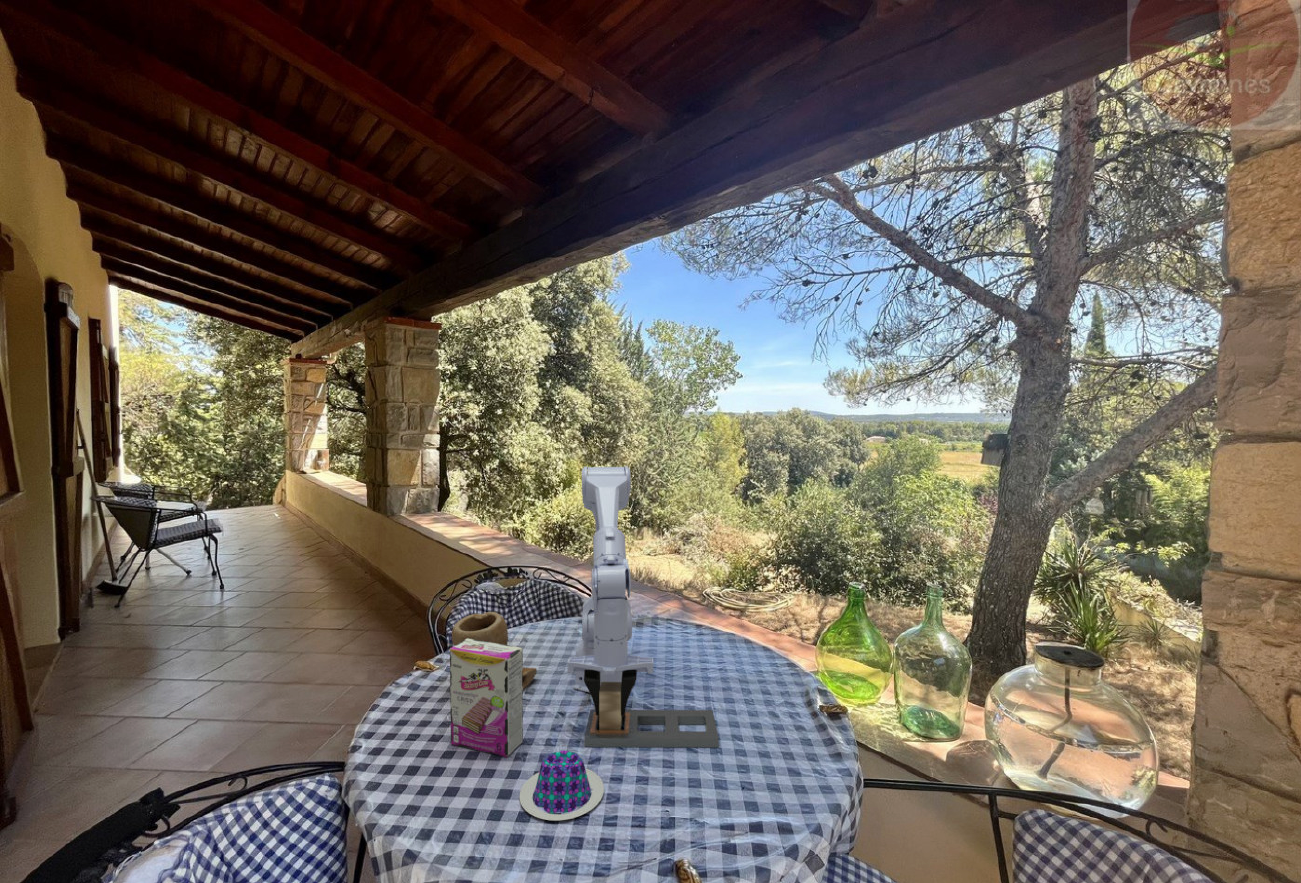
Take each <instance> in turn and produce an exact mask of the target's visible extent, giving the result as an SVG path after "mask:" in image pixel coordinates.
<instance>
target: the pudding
mask: <svg viewBox="0 0 1301 883" xmlns="http://www.w3.org/2000/svg"><path fill="white" fill-rule="evenodd" d="M584 763H585V762H584V761H583V759H582V757H580V755H579V754H578V753H577V752H575V751H568V750H564V749H563V750H560V751H554V752H551V753H550V754H549V755H548V756H546V757H545V758H544V759H543V760H542V761H541V763H540V764H541V765H540V767H539V768H540V769H539V772H537V773H536V774H533V775H532V776H530V777H529V778H528V779H527V780H526V781H525V782H524V784H523V785H522V787H521V789H520V791H519V802H520V805H521V806H522V808H523V809H524V810H525V812H527V813H528V814H530V815H531V816H534V817H535V818H538V819H542V820H547V821H566V820H570V819H575V818H577V817H580V816H582V815H584V814H587V813H589V812H590V811H591V810H593V809H594V808H595V807H596V806H598V804H599V803H600V802H601V800H602V798H603V796H604V792H605V787H604V786H605V785H604V782H603V780H602V779H601V777H600V776H599V775H598V774H597V773H596V772H595V771H593V770H591V769H588V768H586V766H585V764H584ZM534 789H535V790H534ZM591 789H593V790H591ZM533 795H534V796H533ZM588 796H590V798H589V797H588ZM533 797H534V800H533ZM588 798H589V799H588ZM579 807H580V808H579ZM539 808H543V810H544V811H543V810H541V809H539ZM576 808H578V809H577V810H576ZM559 812H561V813H562V814H556V813H559Z"/></svg>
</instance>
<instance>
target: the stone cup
mask: <svg viewBox="0 0 1301 883" xmlns="http://www.w3.org/2000/svg"><path fill="white" fill-rule="evenodd" d="M467 638H468V639H474V640H479V641H485V642H490V643H496V644H502V645H508V640H509V632H508V625H507V622H506V620H505V618H504V617H503V616H502V615H501V614H500V613H498V612H495V611H487V612H484V613H473V614H470V615H466V616H465V617H463V618H461V619H459V621H457V622H455V624H454V626H453V628H452V629H451V641H452V645H453V646H455V645H457V644H459V643H460V642H462V641H464V640H465V639H467ZM537 673H538V669H537V668H536V667H523V690H525V688H527V687H528V686H529V685H530V684H531V682H532V681H534V678H535V677H536V675H537Z"/></svg>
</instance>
